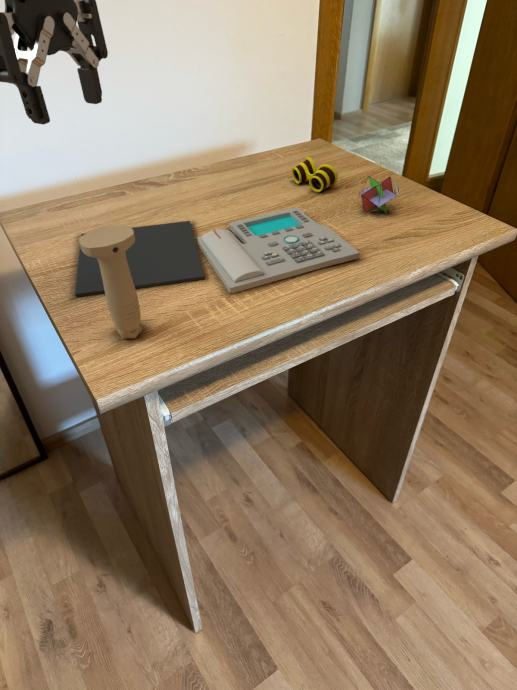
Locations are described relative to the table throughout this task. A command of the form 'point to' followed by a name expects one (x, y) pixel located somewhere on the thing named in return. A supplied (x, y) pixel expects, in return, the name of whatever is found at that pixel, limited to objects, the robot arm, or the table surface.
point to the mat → (149, 259)
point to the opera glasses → (315, 175)
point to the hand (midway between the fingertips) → (68, 112)
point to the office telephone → (272, 249)
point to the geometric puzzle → (378, 194)
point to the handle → (116, 275)
